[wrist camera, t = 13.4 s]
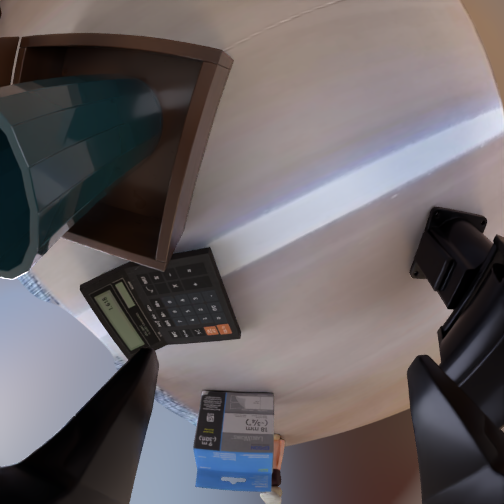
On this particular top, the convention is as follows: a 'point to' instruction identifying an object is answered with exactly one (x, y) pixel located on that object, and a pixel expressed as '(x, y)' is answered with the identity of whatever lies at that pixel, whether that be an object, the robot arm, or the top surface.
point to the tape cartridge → (235, 440)
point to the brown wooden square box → (171, 142)
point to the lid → (7, 58)
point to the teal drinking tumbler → (66, 155)
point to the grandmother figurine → (275, 473)
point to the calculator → (163, 303)
